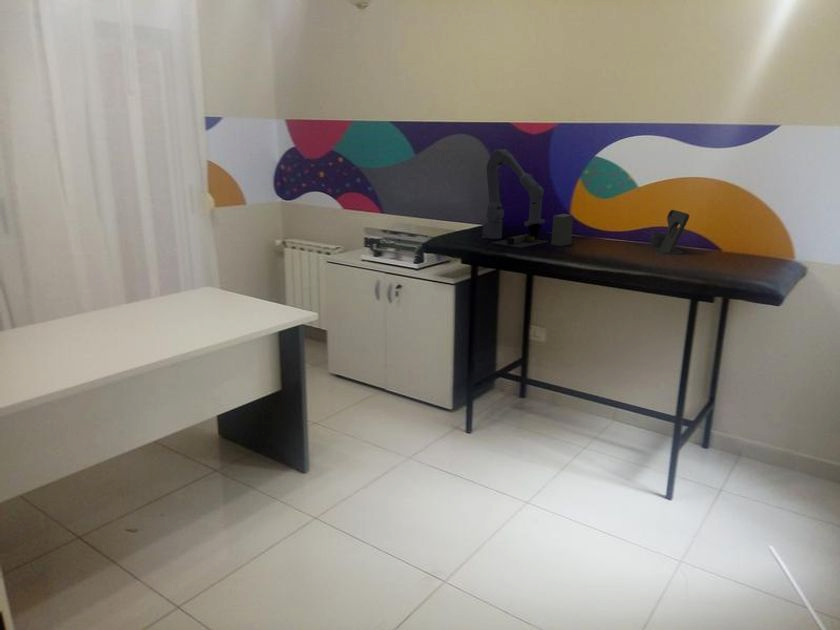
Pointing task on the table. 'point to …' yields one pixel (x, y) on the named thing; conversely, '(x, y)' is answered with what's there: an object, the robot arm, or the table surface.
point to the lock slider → (530, 238)
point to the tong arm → (517, 239)
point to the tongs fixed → (516, 236)
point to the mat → (522, 244)
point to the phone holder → (670, 234)
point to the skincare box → (562, 229)
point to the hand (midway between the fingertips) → (533, 239)
